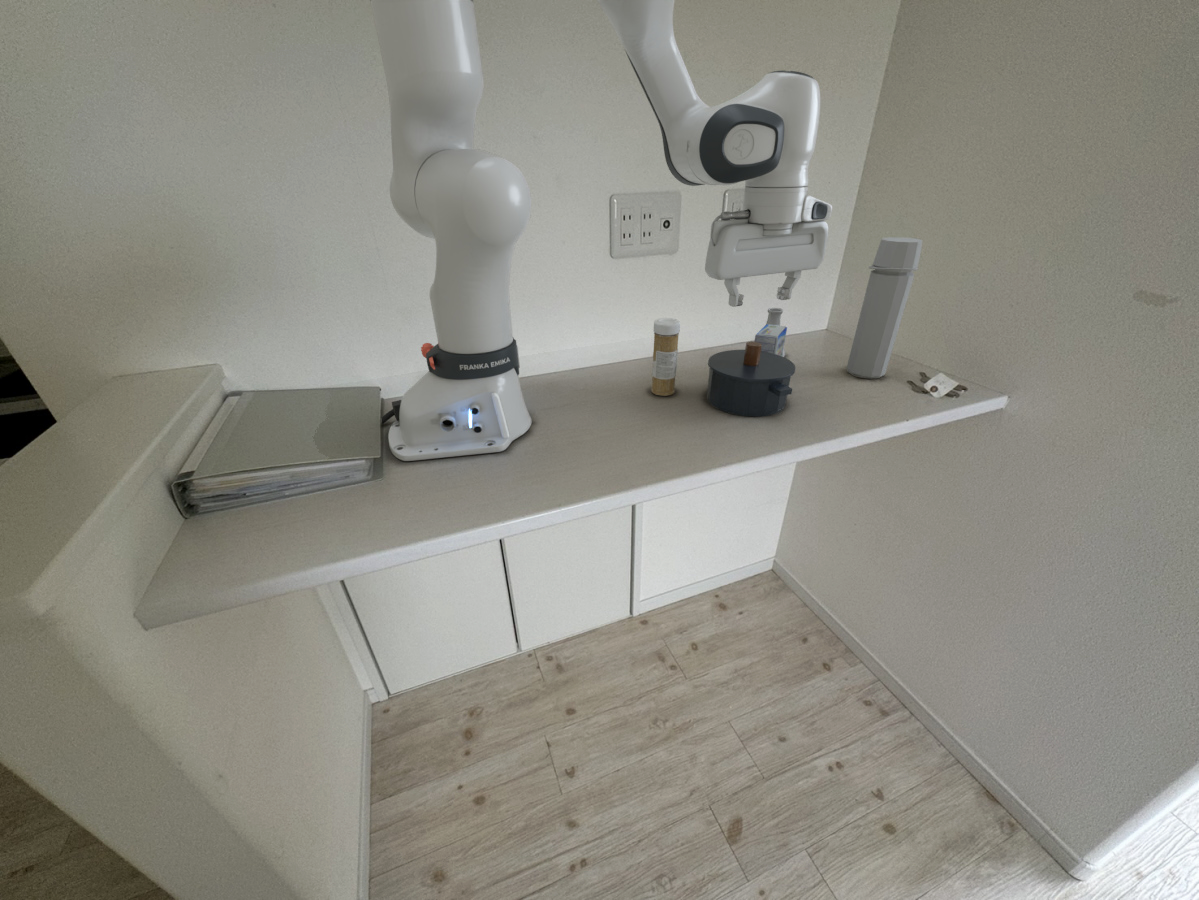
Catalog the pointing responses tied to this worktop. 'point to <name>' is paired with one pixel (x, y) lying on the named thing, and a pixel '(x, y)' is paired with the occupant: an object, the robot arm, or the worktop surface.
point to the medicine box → (772, 338)
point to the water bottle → (883, 306)
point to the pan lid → (751, 364)
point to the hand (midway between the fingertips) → (759, 302)
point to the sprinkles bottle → (665, 356)
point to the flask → (775, 318)
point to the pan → (747, 395)
